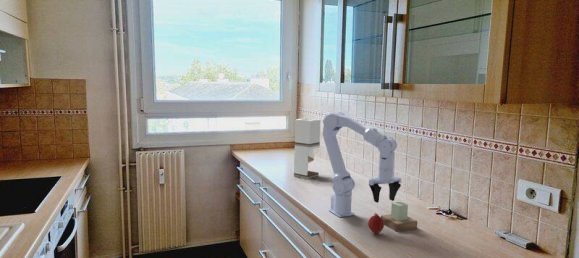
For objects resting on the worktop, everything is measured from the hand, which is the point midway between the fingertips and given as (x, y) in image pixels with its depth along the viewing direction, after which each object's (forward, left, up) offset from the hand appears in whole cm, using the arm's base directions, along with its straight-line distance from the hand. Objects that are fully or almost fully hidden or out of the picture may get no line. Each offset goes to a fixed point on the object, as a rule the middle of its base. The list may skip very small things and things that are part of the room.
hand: (383, 201), depth 153 cm
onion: (+8, -10, -10) cm, 16 cm away
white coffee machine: (-84, +5, -10) cm, 84 cm away
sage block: (+5, +4, -6) cm, 9 cm away
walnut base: (+4, +4, -9) cm, 11 cm away
